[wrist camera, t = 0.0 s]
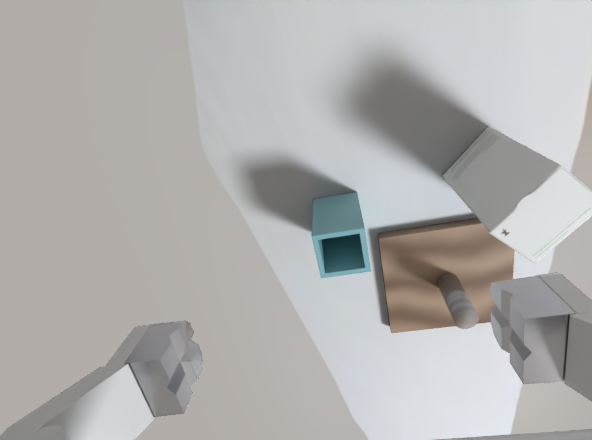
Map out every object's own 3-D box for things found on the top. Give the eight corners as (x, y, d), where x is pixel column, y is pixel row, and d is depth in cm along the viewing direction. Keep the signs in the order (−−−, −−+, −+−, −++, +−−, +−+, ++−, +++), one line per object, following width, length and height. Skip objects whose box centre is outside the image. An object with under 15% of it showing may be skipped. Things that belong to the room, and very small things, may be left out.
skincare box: (474, 200, 50) (533, 269, 36) (438, 174, 48) (484, 234, 35) (525, 151, 46) (612, 206, 33) (488, 121, 45) (561, 165, 31)
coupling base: (377, 233, 53) (388, 273, 45) (511, 213, 50) (549, 251, 42) (389, 326, 61) (400, 374, 53) (505, 313, 58) (536, 361, 50)
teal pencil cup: (313, 199, 51) (311, 236, 42) (356, 191, 50) (364, 228, 41) (321, 236, 54) (321, 278, 45) (362, 229, 53) (370, 271, 44)
